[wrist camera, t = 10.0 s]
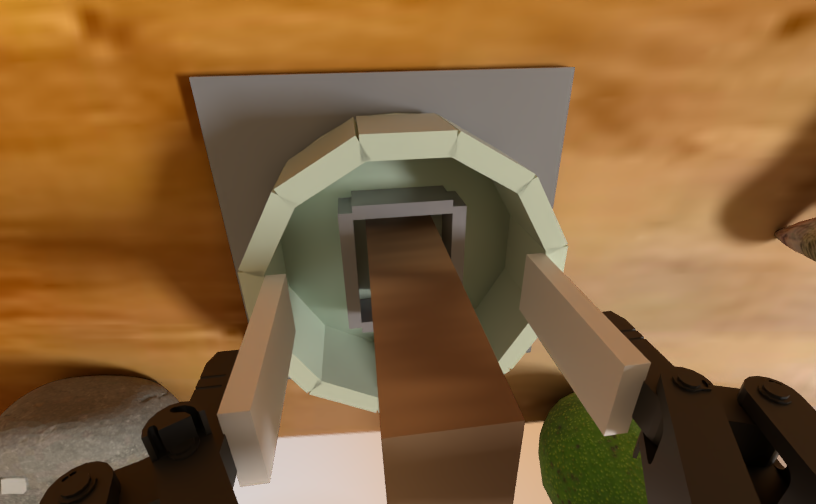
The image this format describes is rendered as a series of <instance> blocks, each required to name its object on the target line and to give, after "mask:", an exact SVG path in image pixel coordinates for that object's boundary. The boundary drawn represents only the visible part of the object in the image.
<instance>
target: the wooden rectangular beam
mask: <svg viewBox="0 0 816 504" xmlns="http://www.w3.org/2000/svg"><path fill="white" fill-rule="evenodd" d="M365 222H366V236H367V249H368V263H369V277H370V291H371V304H372V318H373V332H374V345H375V359H376V373H377V387H378V400H379V414H380V428H381V440H382V452H383V463H384V474H385V484H386V495H387V504H513V500H514V493H515V486H516V479H517V472H518V465H519V458H520V452H521V445H522V438H523V431H524V424H525V419H524V417H523V415H522V413H521V411H520V409H519V406H518V404H517V402H516V400H515V398H514V396H513V393H512V391H511V389H510V387H509V385H508V382H507V380H506V378H505V376H504V374H503V372H502V369H501V367H500V365H499V363H498V361H497V359H496V356H495V354H494V352H493V350H492V348H491V346H490V343H489V341H488V339H487V337H486V335H485V332H484V330H483V328H482V326H481V324H480V322H479V319H478V317H477V315H476V313H475V311H474V309H473V306H472V304H471V302H470V300H469V298H468V296H467V293H466V291H465V289H464V287H463V285H462V282H461V280H460V278H459V276H458V274H457V272H456V269H455V267H454V265H453V263H452V261H451V259H450V256H449V254H448V252H447V250H446V248H445V246H444V243H443V241H442V239H441V237H440V235H439V232H438V230H437V228H436V226H435V224H434V222H433V219H432V217H431V215H421V216H406V217H392V218H377V219H365Z"/></svg>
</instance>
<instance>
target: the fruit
mask: <svg viewBox="0 0 816 504" xmlns="http://www.w3.org/2000/svg"><path fill="white" fill-rule="evenodd" d="M640 431H641V429H640V427H639V426H638V425H637V423H636V422H635V421H634V420H633V418H632V421H631V424H630V427H629V430H628V433H623V434H616V435H608V436H603V434H602V433H601V431H600V430H599V428H598V427H597V425H596V424H595V422H594V421H593V419H592V418H591V416H590V415H589V413H588V412H587V410H586V409H585V407H584V406H583V404H582V403H581V401H580V400H579V398H578V397H577V395H576V394H575V392H574V393H572V394H570V395H568V396H566V397H564V398H562V399H560V400H559V401H558V402H557V403H556V404H555V405H554V406H553V407H552V408H551V410H550V411H549V413H548V415H547V417H546V419H545V421H544V424H543V427H542V429H541V433H540V440H539V460H540V468H541V475H542V482H543V486H544V488H545V490H546V492H547V494H548V496H549V498H550V500H551V502H552V504H648V501H647V495H646V488H645V481H644V474H643V467H642V460H641V454H640V452H639V453H638V456H637V459H636V458H632V457H633V451H634V448H635V445H636V442H637V440H638V437H639V434H640Z"/></svg>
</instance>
